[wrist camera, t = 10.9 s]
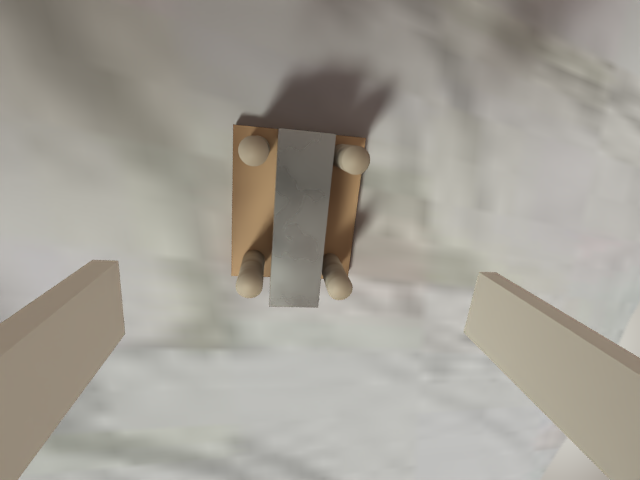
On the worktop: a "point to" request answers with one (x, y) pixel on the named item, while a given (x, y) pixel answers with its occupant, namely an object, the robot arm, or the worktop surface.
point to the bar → (300, 216)
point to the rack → (258, 209)
